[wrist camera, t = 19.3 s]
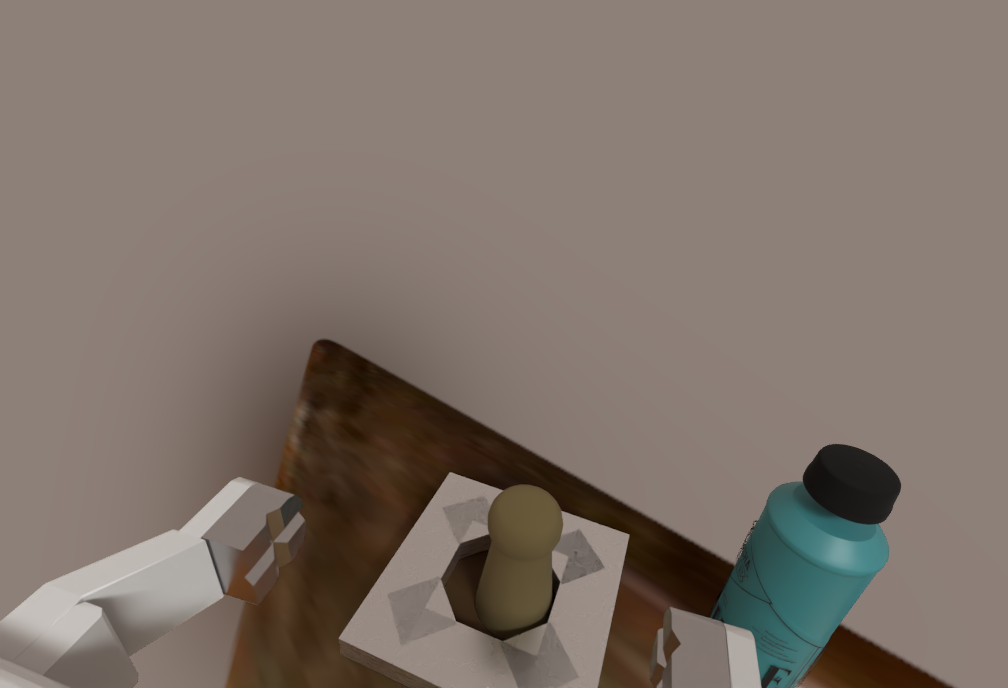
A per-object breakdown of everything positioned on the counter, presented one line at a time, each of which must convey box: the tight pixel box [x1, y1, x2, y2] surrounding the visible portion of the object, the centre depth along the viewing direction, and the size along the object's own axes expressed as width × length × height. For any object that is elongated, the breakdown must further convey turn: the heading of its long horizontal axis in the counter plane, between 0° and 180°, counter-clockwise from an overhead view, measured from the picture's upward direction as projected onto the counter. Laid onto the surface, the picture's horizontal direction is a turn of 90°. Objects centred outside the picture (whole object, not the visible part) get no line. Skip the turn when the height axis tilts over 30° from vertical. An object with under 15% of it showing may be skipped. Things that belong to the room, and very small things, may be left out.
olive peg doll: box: [475, 484, 563, 639], centre depth 37 cm, size 6×6×11 cm
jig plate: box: [338, 472, 629, 688], centre depth 40 cm, size 17×17×2 cm
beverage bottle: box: [708, 444, 901, 688], centre depth 32 cm, size 6×7×20 cm
